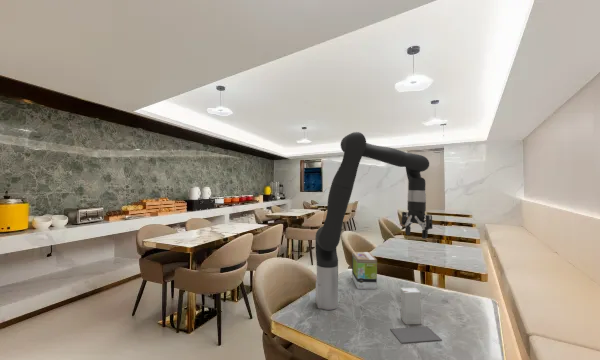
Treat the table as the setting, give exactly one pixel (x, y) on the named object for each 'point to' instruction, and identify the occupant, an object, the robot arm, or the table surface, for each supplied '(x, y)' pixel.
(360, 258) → the tea box
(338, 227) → the robot arm
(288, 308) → the table surface
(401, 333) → the mat
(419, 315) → the skincare box
